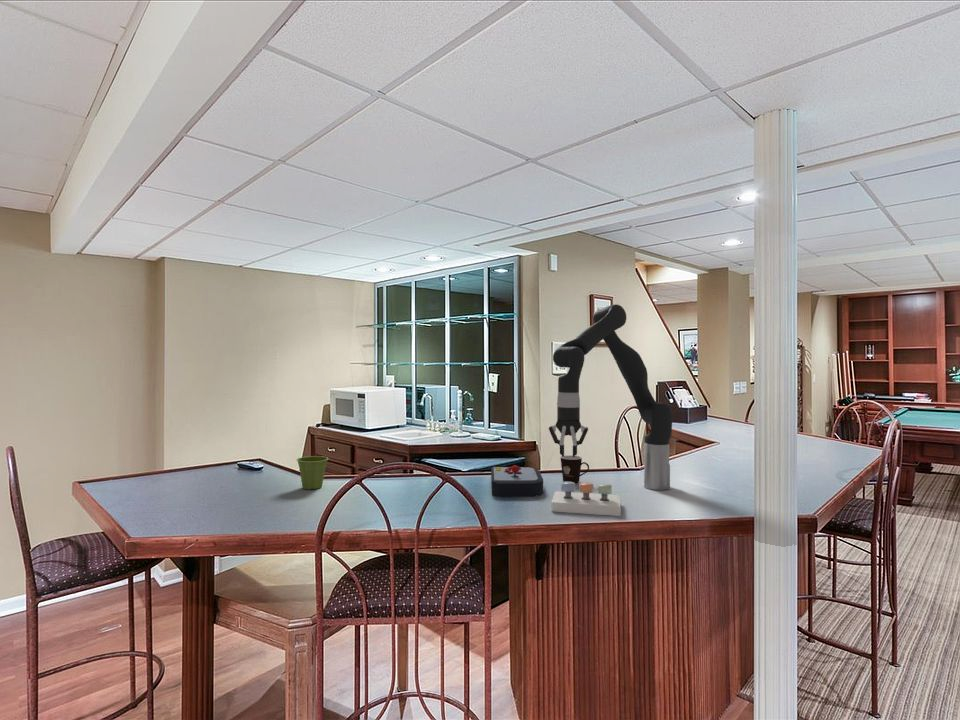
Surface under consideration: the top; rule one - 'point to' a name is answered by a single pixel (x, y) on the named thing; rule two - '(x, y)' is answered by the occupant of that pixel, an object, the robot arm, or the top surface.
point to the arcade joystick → (516, 482)
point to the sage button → (604, 491)
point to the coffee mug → (572, 468)
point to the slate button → (568, 488)
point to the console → (586, 504)
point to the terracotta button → (586, 489)
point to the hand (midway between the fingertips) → (568, 456)
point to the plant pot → (312, 471)
